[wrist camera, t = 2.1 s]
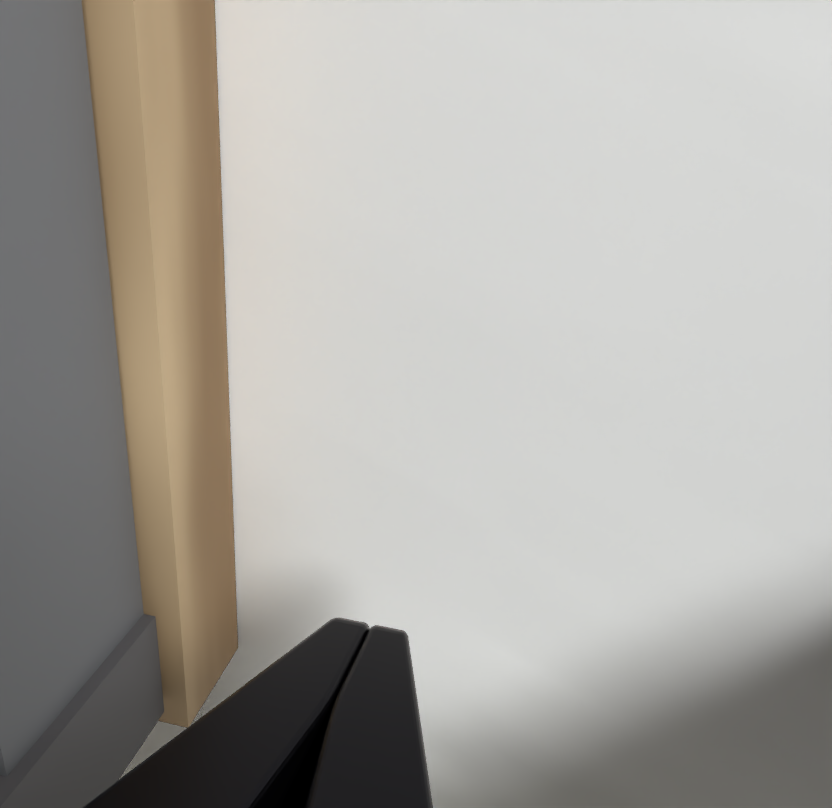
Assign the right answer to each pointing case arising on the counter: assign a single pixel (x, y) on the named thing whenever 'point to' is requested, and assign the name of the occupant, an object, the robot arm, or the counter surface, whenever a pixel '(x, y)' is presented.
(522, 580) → the counter surface
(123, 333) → the tan wooden slab
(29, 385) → the folding leg
